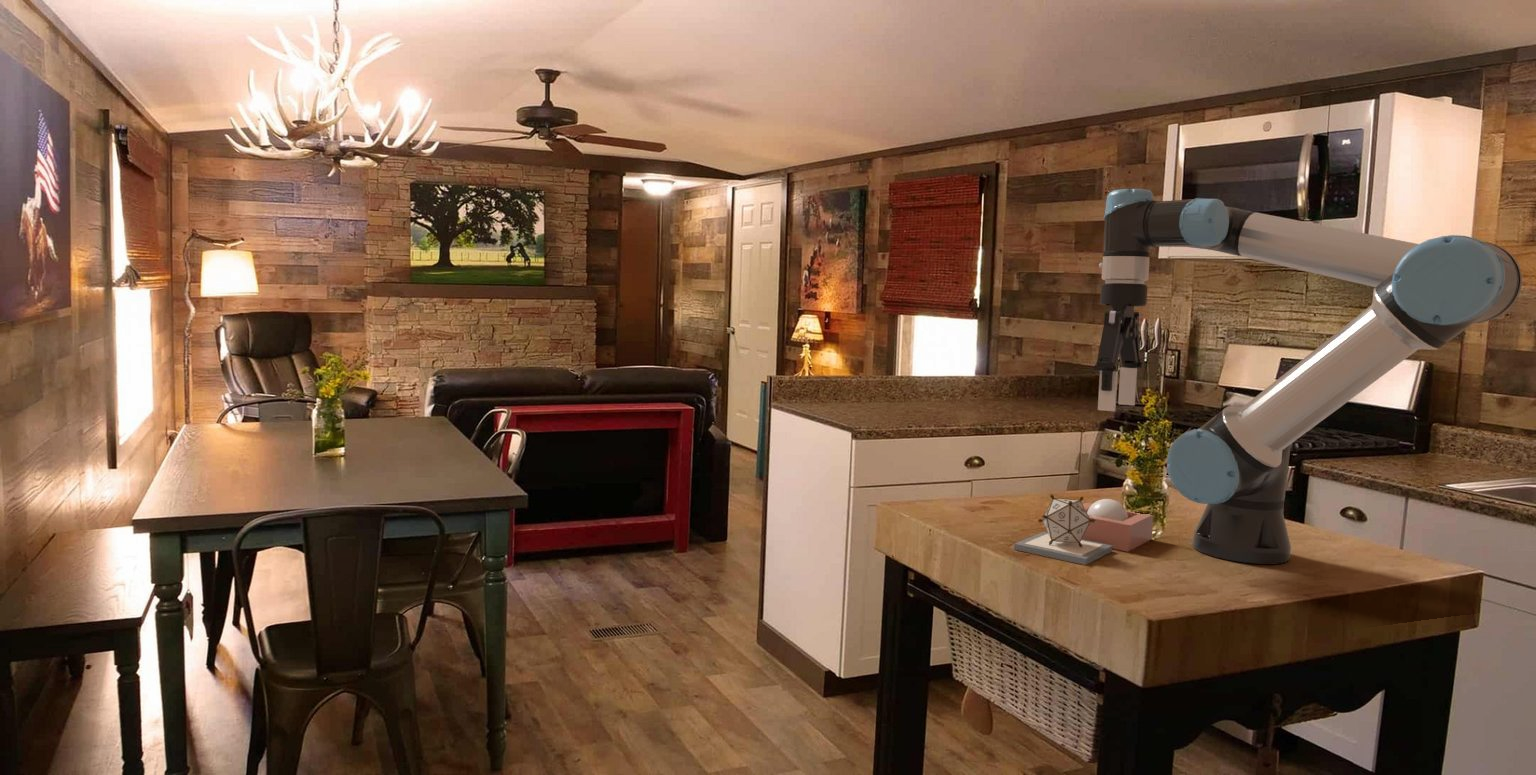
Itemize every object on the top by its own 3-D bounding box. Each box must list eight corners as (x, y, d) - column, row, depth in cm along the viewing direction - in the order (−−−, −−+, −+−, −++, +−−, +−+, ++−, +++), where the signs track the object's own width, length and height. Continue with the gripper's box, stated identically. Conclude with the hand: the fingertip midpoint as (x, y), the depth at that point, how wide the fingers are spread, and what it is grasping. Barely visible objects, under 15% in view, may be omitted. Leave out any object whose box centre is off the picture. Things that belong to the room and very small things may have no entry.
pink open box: (1151, 539, 184) (1153, 514, 184) (1128, 551, 175) (1130, 525, 174) (1084, 526, 191) (1086, 502, 191) (1059, 537, 182) (1061, 512, 181)
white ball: (1132, 539, 184) (1135, 500, 183) (1118, 546, 178) (1122, 505, 177) (1093, 531, 188) (1096, 493, 187) (1078, 538, 182) (1081, 498, 181)
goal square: (1112, 551, 174) (1112, 545, 174) (1085, 565, 165) (1085, 558, 165) (1043, 537, 181) (1044, 531, 181) (1014, 549, 172) (1014, 543, 172)
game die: (1068, 564, 175) (1101, 515, 176) (1077, 559, 166) (1112, 508, 168) (1022, 532, 177) (1055, 484, 178) (1029, 525, 169) (1064, 475, 170)
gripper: (1119, 284, 190) (1112, 400, 191) (1081, 280, 169) (1074, 411, 170) (1163, 285, 186) (1155, 404, 187) (1129, 280, 165) (1121, 415, 166)
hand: (1116, 407), depth 179 cm, fingers open, 13 cm apart
